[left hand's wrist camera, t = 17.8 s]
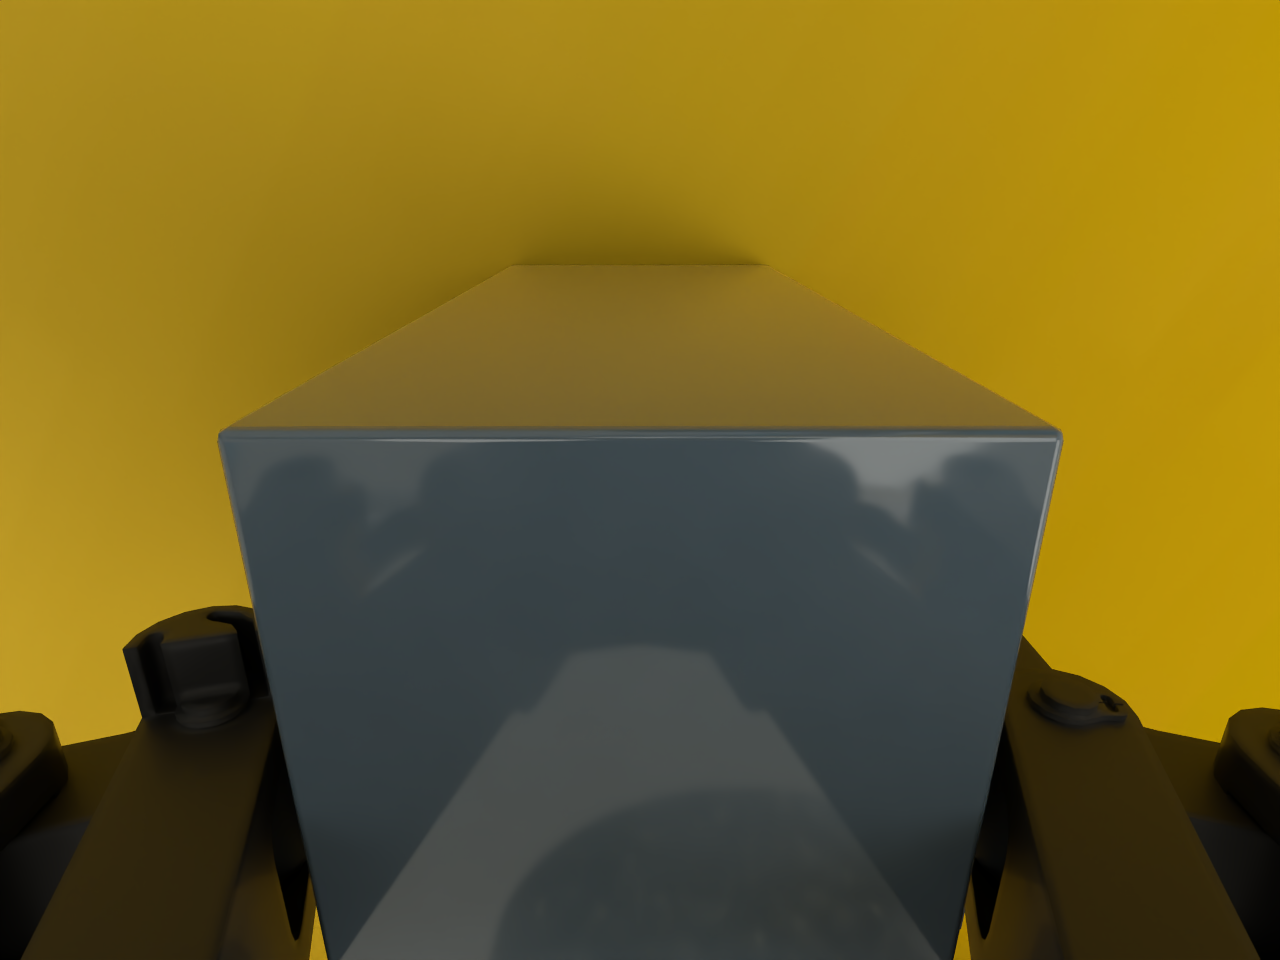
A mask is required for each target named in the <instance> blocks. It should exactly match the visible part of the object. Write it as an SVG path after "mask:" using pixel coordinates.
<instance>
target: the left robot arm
mask: <svg viewBox="0 0 1280 960" xmlns="http://www.w3.org/2000/svg"><path fill="white" fill-rule="evenodd" d="M122 650H123V653H124V657H125V660H126V664H127V667H128V670H129V674H130V677H131V681H132V684H133V688H134V691H135V694H136V698H137V701H138V705H139V708H140V712H141V715H142V719H141V721H140V723H139V725H138V727H137V729H136V731H133V732H129V733H125V734H120V735H115V736H110V737H105V738H100V739H95V740H90V741H85V742H80V743H75V744H70V745H65V746H61V744H60V741H59V738H58V735H57V732H56V729H55V726H54V724H53V722H52V721H51V720H50V719H48V718H47V717H45V716H44V715H43V714H41V713H33V712H24V711H15V712H8V713H0V960H309V957H310V949H311V941H312V933H313V925H314V917H315V909H316V902H315V898H314V893H313V888H312V883H311V879H310V874H309V869H308V865H307V860H306V855H305V851H304V846H303V841H302V836H301V832H300V827H299V822H298V818H297V813H296V808H295V804H294V799H293V794H292V790H291V785H290V780H289V775H288V771H287V766H286V761H285V757H284V752H283V747H282V743H281V738H280V733H279V728H278V724H277V719H276V714H275V710H274V705H273V700H272V696H271V691H270V686H269V682H268V677H267V672H266V667H265V663H264V658H263V653H262V649H261V644H260V639H259V635H258V630H257V625H256V620H255V616H254V611H253V608H248V607H242V606H237V605H234V606H212V607H207V608H202V609H198V610H193V611H188V612H184V613H181V614H179V615H176V616H173V617H171V618H168V619H165V620H162V621H160V622H158V623H156V624H154V625H152V626H151V627H149V628H147V629H146V630H144V631H142V632H140V633H139V634H137V635H136V636H135V637H134V638H133V639H132V640H131V641H130V642H129V643H128V644H127V645H126V646H125V647H124V648H123V649H122ZM964 913H965V915H966V923H967V931H968V939H969V947H970V955H971V960H1280V710H1277V709H1269V708H1254V709H1245V710H1240V711H1239V712H1237V713H1236V714H1234V715H1233V716H1232V717H1230V718H1229V720H1228V723H1227V726H1226V728H1225V731H1224V734H1223V737H1222V740H1221V743H1217V742H1212V741H1207V740H1202V739H1197V738H1192V737H1187V736H1182V735H1177V734H1172V733H1167V732H1162V731H1157V730H1153V729H1149V728H1145V727H1143V726H1142V724H1141V722H1140V720H1139V718H1138V716H1137V715H1136V714H1135V713H1134V711H1133V710H1132V709H1131V708H1130V706H1129V705H1128V704H1127V703H1126V701H1124V700H1123V699H1122V698H1120V697H1119V696H1117V695H1116V694H1114V693H1113V692H1111V691H1110V690H1108V689H1107V688H1106V687H1104V686H1102V685H1099V684H1097V683H1095V682H1092V681H1090V680H1088V679H1086V678H1083V677H1081V676H1078V675H1074V674H1070V673H1066V672H1062V671H1058V670H1054V669H1051V668H1050V666H1049V665H1048V664H1047V663H1046V662H1045V661H1044V659H1043V658H1042V657H1041V656H1040V655H1039V654H1038V653H1037V651H1036V650H1035V649H1034V648H1033V647H1032V646H1031V644H1030V643H1029V642H1028V641H1027V640H1026V639H1025V637H1024V636H1023V635H1022V638H1021V643H1020V648H1019V652H1018V657H1017V662H1016V667H1015V671H1014V676H1013V681H1012V685H1011V690H1010V695H1009V699H1008V704H1007V709H1006V714H1005V718H1004V723H1003V728H1002V732H1001V737H1000V742H999V747H998V751H997V756H996V761H995V765H994V770H993V775H992V779H991V784H990V789H989V794H988V798H987V803H986V808H985V812H984V817H983V822H982V827H981V831H980V836H979V841H978V845H977V850H976V855H975V860H974V864H973V869H972V874H971V878H970V883H969V888H968V892H967V897H966V902H965V907H964V911H963V916H962V921H961V925H960V929H961V926H962V922H963V917H964Z"/></svg>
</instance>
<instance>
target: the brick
mask: <svg viewBox="0 0 1280 960" xmlns="http://www.w3.org/2000/svg"><path fill="white" fill-rule="evenodd" d="M217 442H218V447H219V451H220V456H221V461H222V466H223V470H224V475H225V480H226V484H227V489H228V494H229V498H230V503H231V508H232V512H233V517H234V522H235V527H236V531H237V536H238V541H239V545H240V550H241V555H242V559H243V564H244V569H245V574H246V578H247V583H248V588H249V592H250V597H251V602H252V606H253V611H254V616H255V620H256V625H257V630H258V635H259V639H260V644H261V649H262V653H263V658H264V663H265V667H266V672H267V677H268V682H269V686H270V691H271V696H272V700H273V705H274V710H275V714H276V719H277V724H278V728H279V733H280V738H281V743H282V747H283V752H284V757H285V761H286V766H287V771H288V775H289V780H290V785H291V790H292V794H293V799H294V804H295V808H296V813H297V818H298V822H299V827H300V832H301V836H302V841H303V846H304V851H305V855H306V860H307V865H308V869H309V874H310V879H311V883H312V888H313V893H314V898H315V902H316V907H317V912H318V916H319V921H320V926H321V930H322V935H323V940H324V944H325V949H326V954H327V959H328V960H953V958H954V954H955V949H956V944H957V940H958V935H959V930H960V925H961V921H962V916H963V911H964V907H965V902H966V897H967V892H968V888H969V883H970V878H971V874H972V869H973V864H974V860H975V855H976V850H977V845H978V841H979V836H980V831H981V827H982V822H983V817H984V812H985V808H986V803H987V798H988V794H989V789H990V784H991V779H992V775H993V770H994V765H995V761H996V756H997V751H998V747H999V742H1000V737H1001V732H1002V728H1003V723H1004V718H1005V714H1006V709H1007V704H1008V699H1009V695H1010V690H1011V685H1012V681H1013V676H1014V671H1015V667H1016V662H1017V657H1018V652H1019V648H1020V643H1021V638H1022V634H1023V629H1024V624H1025V619H1026V615H1027V610H1028V605H1029V601H1030V596H1031V591H1032V586H1033V582H1034V577H1035V572H1036V568H1037V563H1038V558H1039V554H1040V549H1041V544H1042V539H1043V535H1044V530H1045V525H1046V521H1047V516H1048V511H1049V506H1050V502H1051V497H1052V492H1053V488H1054V483H1055V478H1056V474H1057V469H1058V464H1059V459H1060V455H1061V450H1062V445H1063V435H1062V432H1061V430H1060V429H1059V428H1057V427H1055V426H1054V425H1052V424H1050V423H1048V422H1047V421H1045V420H1043V419H1041V418H1039V417H1038V416H1036V415H1034V414H1032V413H1030V412H1029V411H1027V410H1025V409H1023V408H1022V407H1020V406H1018V405H1016V404H1014V403H1013V402H1011V401H1009V400H1007V399H1005V398H1004V397H1002V396H1000V395H998V394H997V393H995V392H993V391H991V390H989V389H988V388H986V387H984V386H982V385H980V384H979V383H977V382H975V381H973V380H972V379H970V378H968V377H966V376H964V375H963V374H961V373H959V372H957V371H955V370H954V369H952V368H950V367H948V366H947V365H945V364H943V363H941V362H939V361H938V360H936V359H934V358H932V357H930V356H929V355H927V354H925V353H923V352H922V351H920V350H918V349H916V348H914V347H913V346H911V345H909V344H907V343H905V342H904V341H902V340H900V339H898V338H897V337H895V336H893V335H891V334H889V333H888V332H886V331H884V330H882V329H880V328H879V327H877V326H875V325H873V324H872V323H870V322H868V321H866V320H864V319H863V318H861V317H859V316H857V315H855V314H854V313H852V312H850V311H848V310H847V309H845V308H843V307H841V306H839V305H838V304H836V303H834V302H832V301H830V300H829V299H827V298H825V297H823V296H822V295H820V294H818V293H816V292H814V291H813V290H811V289H809V288H807V287H805V286H804V285H802V284H800V283H798V282H797V281H795V280H793V279H791V278H789V277H788V276H786V275H784V274H782V273H780V272H779V271H777V270H775V269H773V268H772V267H770V266H768V265H512V266H510V267H508V268H506V269H505V270H503V271H501V272H499V273H497V274H496V275H494V276H492V277H490V278H489V279H487V280H485V281H483V282H481V283H480V284H478V285H476V286H474V287H473V288H471V289H469V290H467V291H466V292H464V293H462V294H460V295H458V296H457V297H455V298H453V299H451V300H450V301H448V302H446V303H444V304H442V305H441V306H439V307H437V308H435V309H434V310H432V311H430V312H428V313H427V314H425V315H423V316H421V317H419V318H418V319H416V320H414V321H412V322H411V323H409V324H407V325H405V326H403V327H402V328H400V329H398V330H396V331H395V332H393V333H391V334H389V335H388V336H386V337H384V338H382V339H380V340H379V341H377V342H375V343H373V344H372V345H370V346H368V347H366V348H365V349H363V350H361V351H359V352H357V353H356V354H354V355H352V356H350V357H349V358H347V359H345V360H343V361H341V362H340V363H338V364H336V365H334V366H333V367H331V368H329V369H327V370H326V371H324V372H322V373H320V374H318V375H317V376H315V377H313V378H311V379H310V380H308V381H306V382H304V383H302V384H301V385H299V386H297V387H295V388H294V389H292V390H290V391H288V392H287V393H285V394H283V395H281V396H279V397H278V398H276V399H274V400H272V401H271V402H269V403H267V404H265V405H263V406H262V407H260V408H258V409H256V410H255V411H253V412H251V413H249V414H248V415H246V416H244V417H242V418H240V419H239V420H237V421H235V422H233V423H232V424H230V425H228V426H226V427H224V428H223V429H221V430H220V432H219V434H218V441H217Z"/></svg>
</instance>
